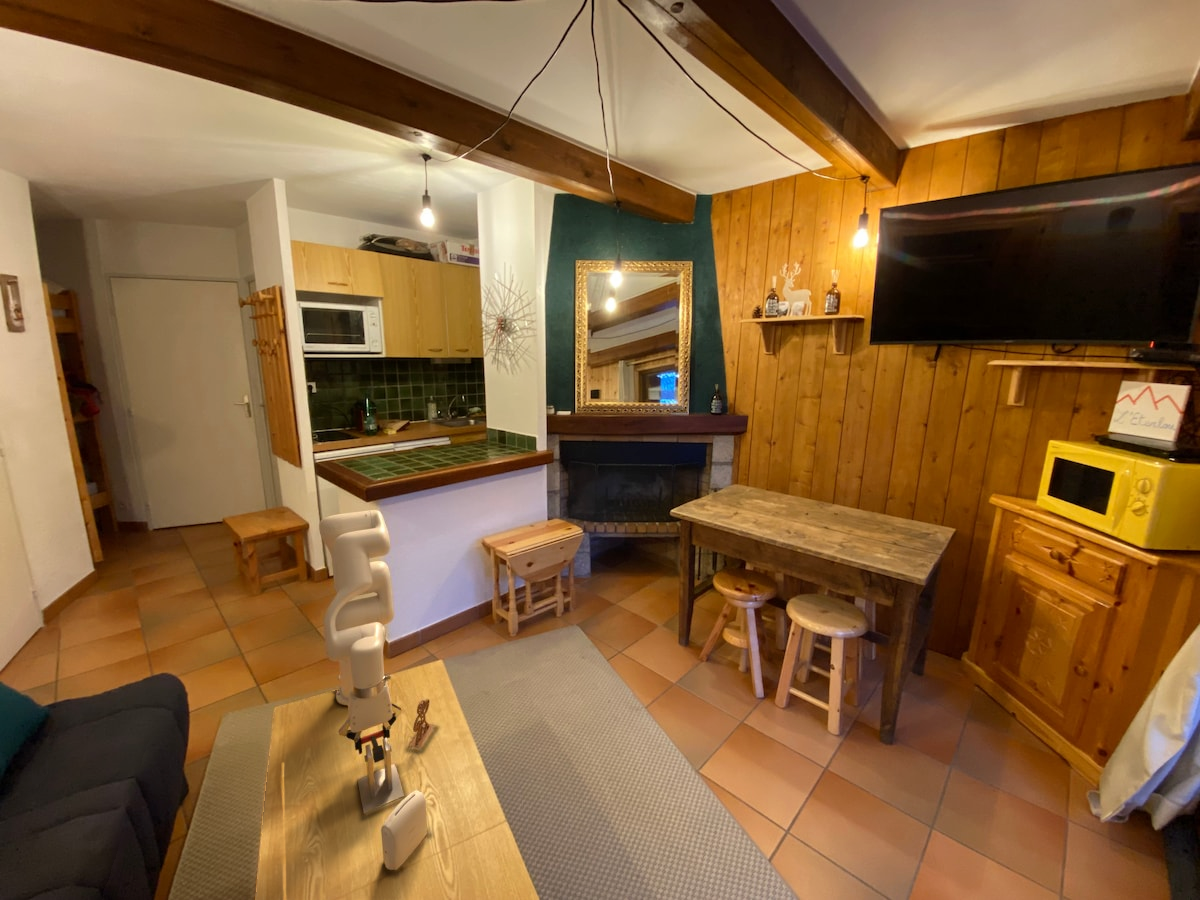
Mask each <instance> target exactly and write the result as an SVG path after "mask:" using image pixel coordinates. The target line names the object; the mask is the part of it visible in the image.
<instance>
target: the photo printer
mask: <svg viewBox="0 0 1200 900" xmlns="http://www.w3.org/2000/svg"><path fill="white" fill-rule="evenodd" d="M427 816H428V814H427V799H426V797H425V794H423V792H422V791H419V790H418V789H417V790H414V791H412V792H411V793H409V794H408V795H407V796H405V798H403V799H402V800H401V801H400V802H399V803H398V804H397V805H396V806H395V808H394V809H392V811H391V812H390V814H389V815H388V816H387V817H386V818H385V820H384V822H383V824H382V826H381V829H380V833H381V834H380V835H381V846H382V859H383V860H382V861H383V864H384V866H385V868H386V869H387V870H390V871H393V870H394V871H397V870H398V869H399V868H400V867H401V866H402V865H403V864H404V863H405V862H406V860H407V859H408V858H409V857H410V856H411V855H412V853H414V851H415V850H416V849H417V848H418V846H419V845H420V844H421V843H422V841H424V839H425V837H426V835H428V817H427Z"/></svg>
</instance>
